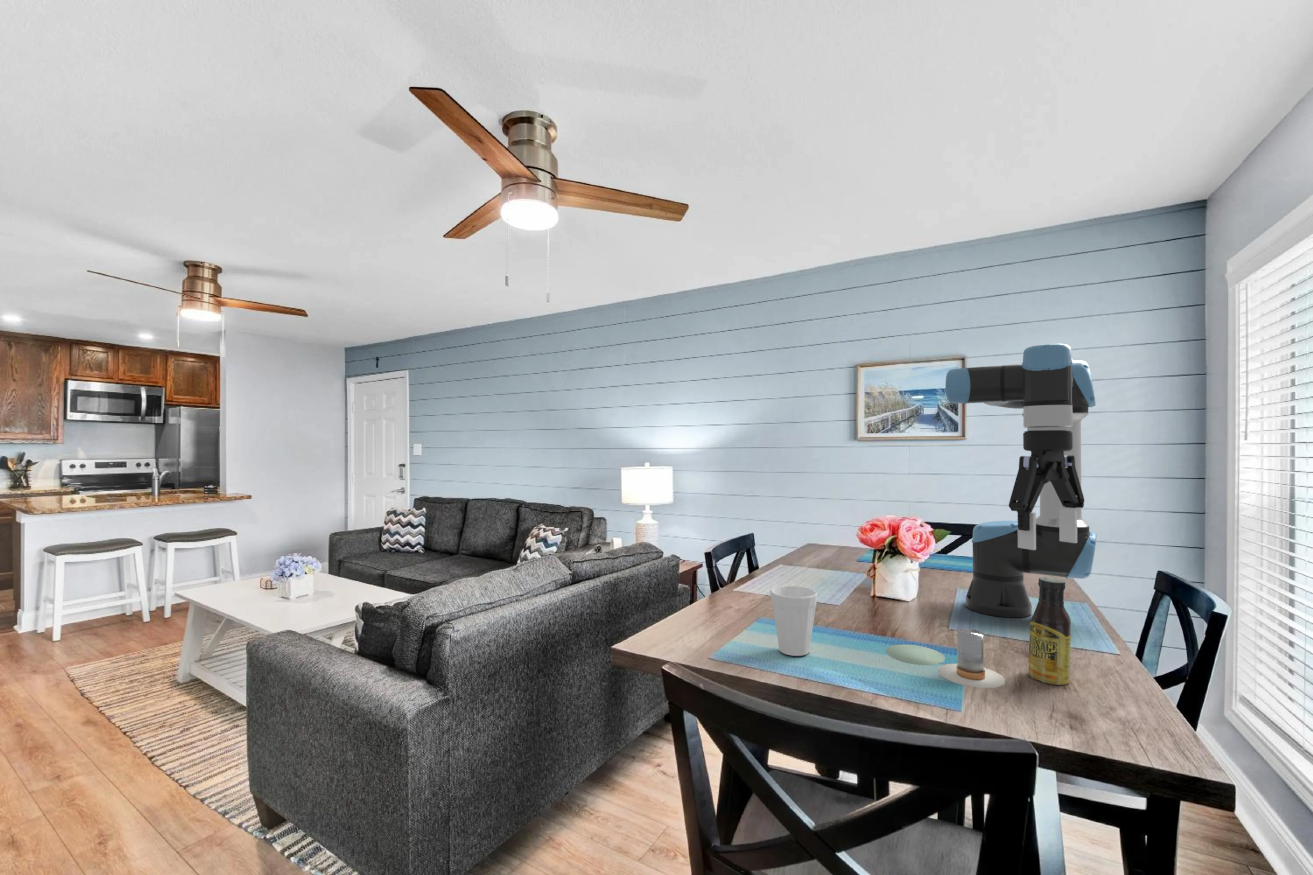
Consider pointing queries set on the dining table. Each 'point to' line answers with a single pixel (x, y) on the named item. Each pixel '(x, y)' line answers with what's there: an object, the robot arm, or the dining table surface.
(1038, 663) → the sauce bottle
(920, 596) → the dining table surface
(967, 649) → the glass jar
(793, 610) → the cup
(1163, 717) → the dining table surface
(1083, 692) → the dining table surface
